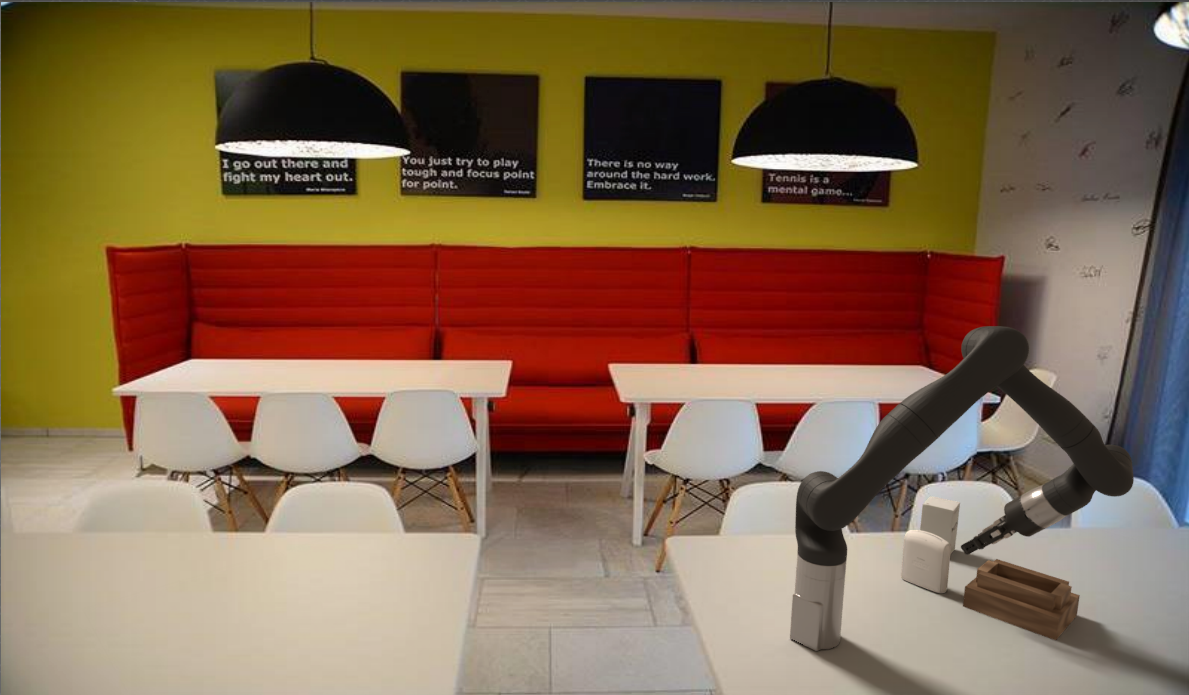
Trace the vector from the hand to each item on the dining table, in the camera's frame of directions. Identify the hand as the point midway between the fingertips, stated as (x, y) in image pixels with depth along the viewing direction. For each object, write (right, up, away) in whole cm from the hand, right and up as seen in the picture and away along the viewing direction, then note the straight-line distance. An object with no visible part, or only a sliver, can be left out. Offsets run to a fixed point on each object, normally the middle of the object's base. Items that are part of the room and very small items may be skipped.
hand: (972, 544), depth 169 cm
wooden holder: (+9, -14, -2) cm, 17 cm away
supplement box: (+4, -8, +27) cm, 29 cm away
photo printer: (-7, -12, +9) cm, 16 cm away
